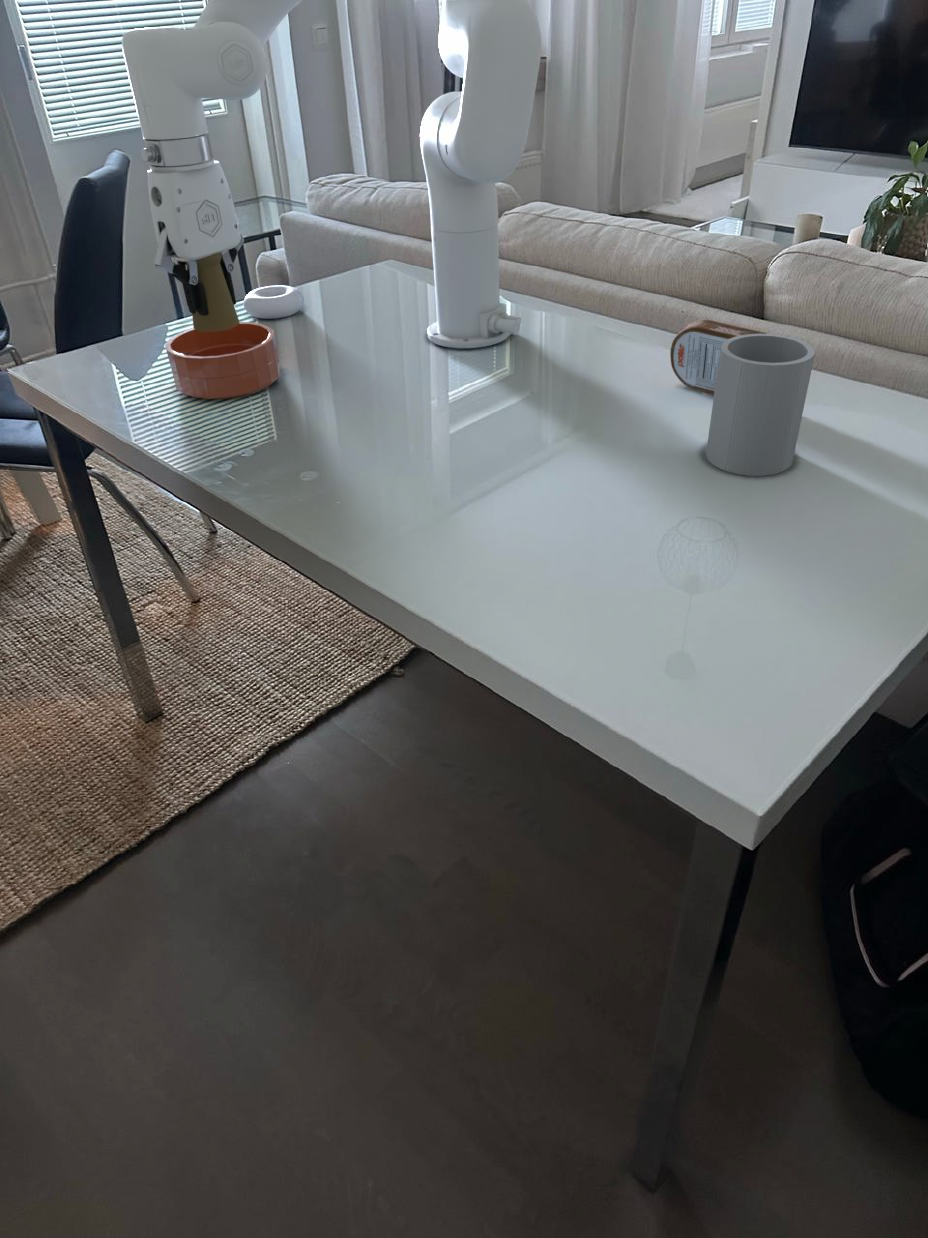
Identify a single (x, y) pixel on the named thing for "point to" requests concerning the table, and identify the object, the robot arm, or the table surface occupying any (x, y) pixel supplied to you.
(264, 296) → the donut
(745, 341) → the cup
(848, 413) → the table surface
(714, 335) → the tin
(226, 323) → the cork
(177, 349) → the basin
